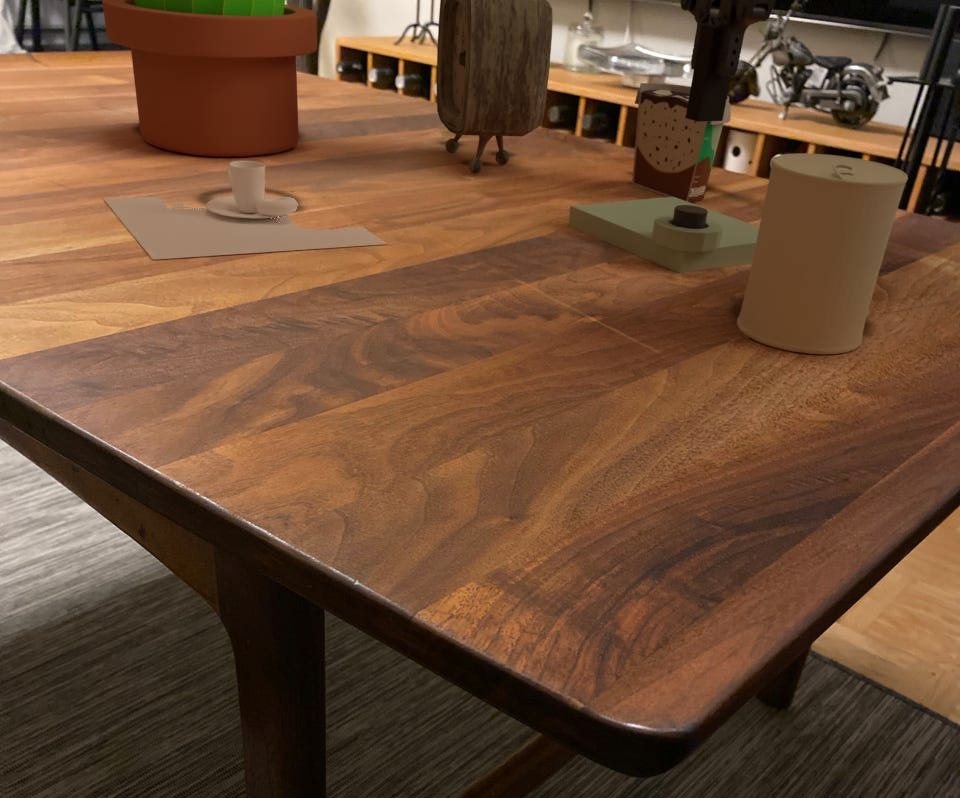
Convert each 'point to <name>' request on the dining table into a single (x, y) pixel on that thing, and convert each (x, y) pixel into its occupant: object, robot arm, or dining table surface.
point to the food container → (673, 143)
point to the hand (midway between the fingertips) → (704, 119)
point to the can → (819, 251)
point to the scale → (668, 233)
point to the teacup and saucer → (229, 222)
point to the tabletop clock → (492, 70)
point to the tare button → (689, 217)
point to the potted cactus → (215, 71)
